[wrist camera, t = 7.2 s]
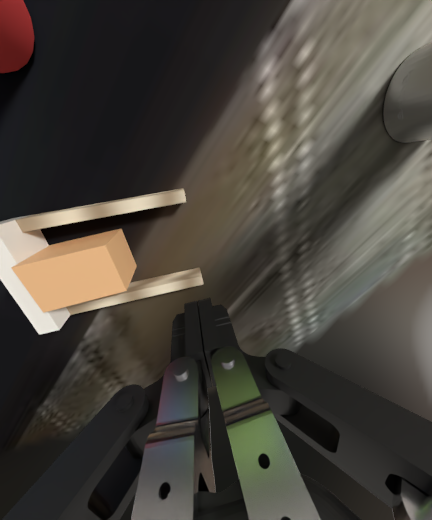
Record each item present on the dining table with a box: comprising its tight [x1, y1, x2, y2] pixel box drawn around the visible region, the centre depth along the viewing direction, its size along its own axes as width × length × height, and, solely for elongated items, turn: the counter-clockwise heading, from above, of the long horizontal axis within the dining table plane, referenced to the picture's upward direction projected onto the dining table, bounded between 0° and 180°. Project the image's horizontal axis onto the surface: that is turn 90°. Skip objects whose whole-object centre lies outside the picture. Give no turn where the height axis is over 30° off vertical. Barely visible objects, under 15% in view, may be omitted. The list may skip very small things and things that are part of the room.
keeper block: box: [11, 229, 137, 313], centre depth 21 cm, size 8×5×6 cm, turn 101°
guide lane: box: [15, 188, 203, 315], centre depth 23 cm, size 16×11×2 cm
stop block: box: [0, 215, 70, 335], centre depth 21 cm, size 2×11×5 cm, turn 9°
